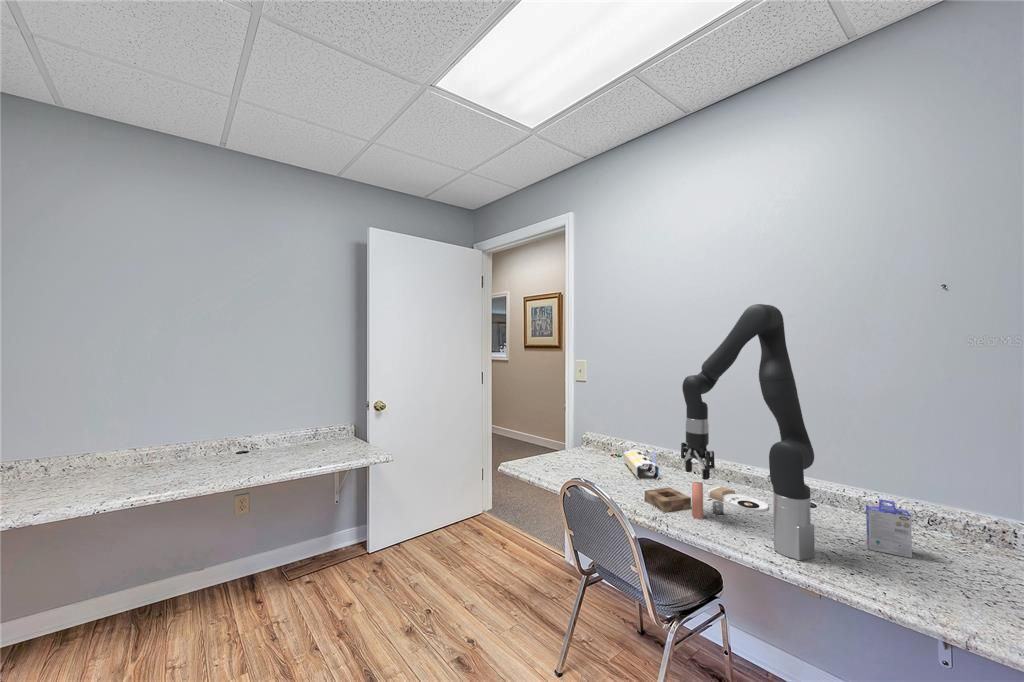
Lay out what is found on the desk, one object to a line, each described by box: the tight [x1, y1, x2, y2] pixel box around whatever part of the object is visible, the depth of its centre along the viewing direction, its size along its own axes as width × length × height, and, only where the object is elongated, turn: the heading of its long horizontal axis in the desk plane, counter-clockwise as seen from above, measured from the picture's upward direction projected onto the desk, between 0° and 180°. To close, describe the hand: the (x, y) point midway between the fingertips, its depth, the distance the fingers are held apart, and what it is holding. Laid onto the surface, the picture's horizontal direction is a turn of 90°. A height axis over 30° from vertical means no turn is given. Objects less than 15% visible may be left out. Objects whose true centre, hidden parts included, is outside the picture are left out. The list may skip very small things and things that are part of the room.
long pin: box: [691, 481, 704, 520], centre depth 149 cm, size 4×4×12 cm
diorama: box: [623, 448, 660, 481], centre depth 202 cm, size 25×10×13 cm, turn 178°
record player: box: [707, 485, 769, 513], centre depth 163 cm, size 12×3×20 cm
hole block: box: [644, 487, 692, 513], centre depth 161 cm, size 12×12×4 cm
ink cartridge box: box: [865, 498, 913, 559], centre depth 125 cm, size 10×6×14 cm, turn 58°
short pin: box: [712, 500, 725, 516], centre depth 152 cm, size 4×4×4 cm
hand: (697, 475), depth 150 cm, fingers open, 8 cm apart
